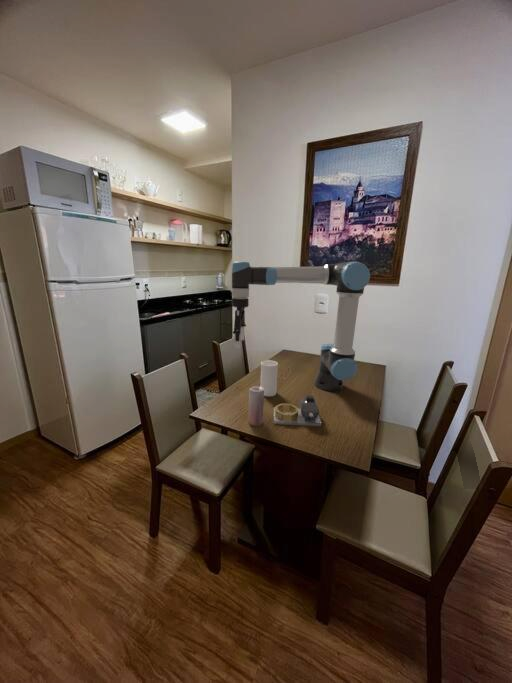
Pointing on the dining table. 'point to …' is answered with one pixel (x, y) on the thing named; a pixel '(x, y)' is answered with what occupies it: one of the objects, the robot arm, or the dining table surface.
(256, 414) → the beverage can
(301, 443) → the dining table surface
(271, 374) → the cup
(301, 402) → the motor unit
